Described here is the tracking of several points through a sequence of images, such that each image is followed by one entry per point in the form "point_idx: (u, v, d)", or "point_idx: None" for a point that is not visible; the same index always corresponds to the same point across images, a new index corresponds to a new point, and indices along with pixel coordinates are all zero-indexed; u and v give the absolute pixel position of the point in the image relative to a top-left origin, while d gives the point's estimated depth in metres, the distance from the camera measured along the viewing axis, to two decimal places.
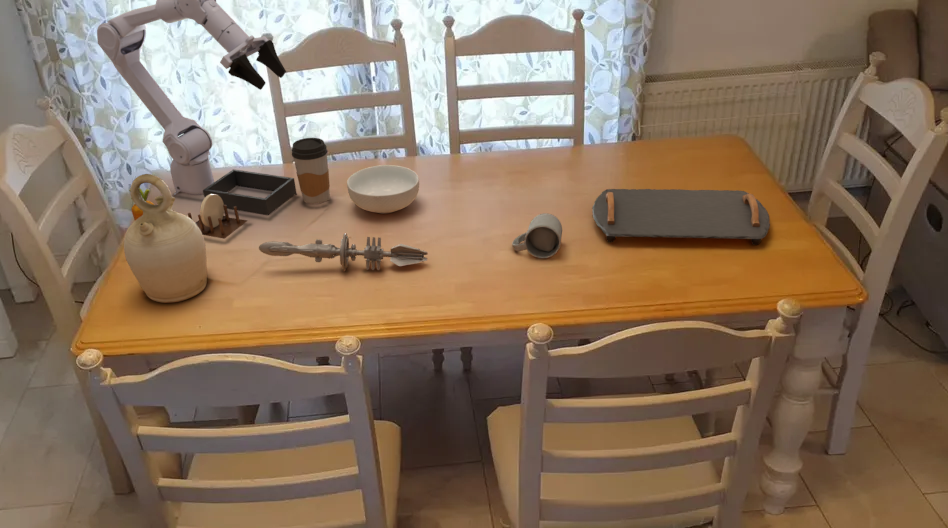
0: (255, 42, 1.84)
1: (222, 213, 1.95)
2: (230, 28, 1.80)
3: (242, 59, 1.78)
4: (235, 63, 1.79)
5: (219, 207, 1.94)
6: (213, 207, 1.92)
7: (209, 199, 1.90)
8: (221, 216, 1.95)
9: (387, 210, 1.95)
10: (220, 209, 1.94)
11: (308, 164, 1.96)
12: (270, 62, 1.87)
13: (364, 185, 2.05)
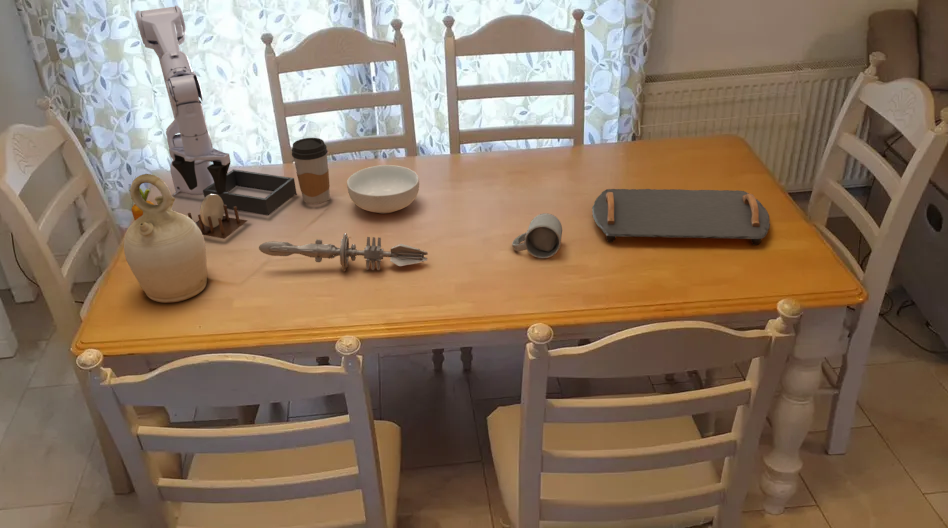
0: None
1: (222, 213, 1.95)
2: (182, 137, 1.80)
3: (175, 166, 1.85)
4: None
5: (219, 207, 1.94)
6: (213, 207, 1.92)
7: (209, 199, 1.90)
8: (221, 216, 1.95)
9: (387, 210, 1.95)
10: (220, 209, 1.94)
11: (308, 164, 1.96)
12: None
13: (364, 185, 2.05)
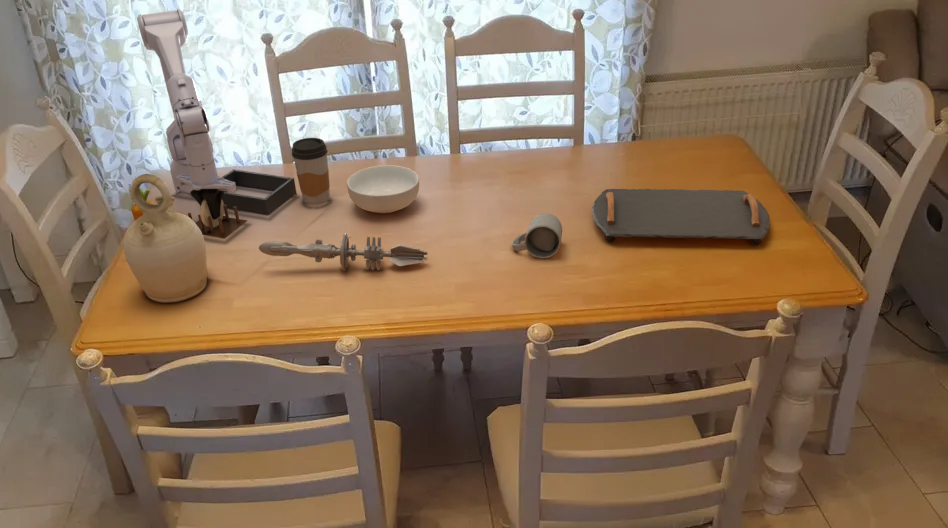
0: None
1: (222, 213, 1.95)
2: (189, 167, 1.84)
3: (193, 195, 1.88)
4: None
5: None
6: None
7: None
8: (221, 216, 1.95)
9: (387, 210, 1.95)
10: (220, 209, 1.94)
11: (308, 164, 1.96)
12: None
13: (364, 185, 2.05)
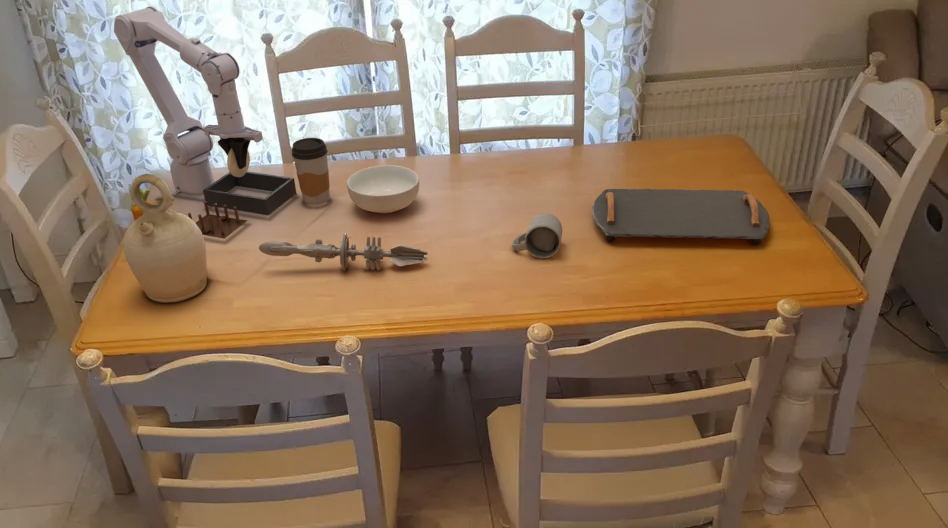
0: None
1: (248, 163, 2.01)
2: (217, 116, 1.90)
3: (220, 145, 1.94)
4: None
5: None
6: None
7: None
8: (247, 166, 2.01)
9: (387, 210, 1.95)
10: (246, 159, 2.00)
11: (308, 164, 1.96)
12: None
13: (364, 185, 2.05)
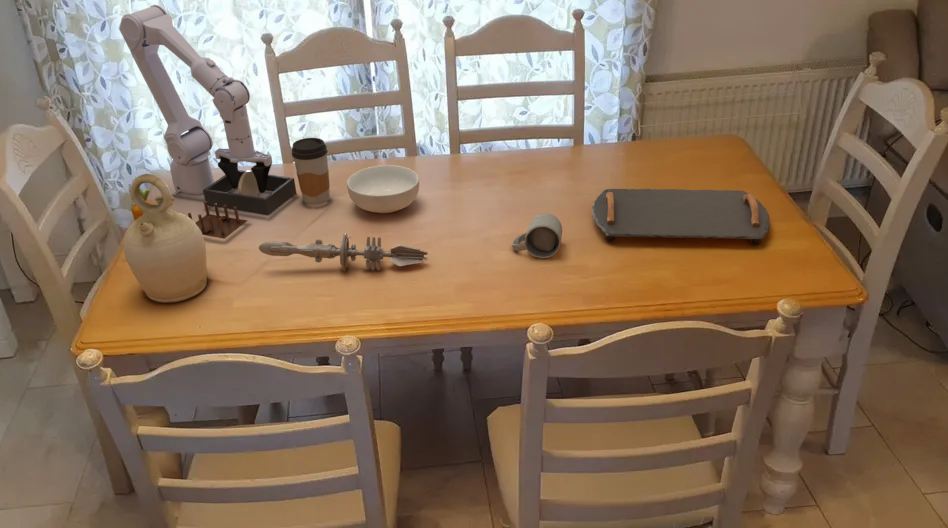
0: None
1: None
2: (228, 140, 1.95)
3: (220, 167, 2.00)
4: None
5: (255, 183, 2.05)
6: (250, 183, 2.03)
7: (246, 175, 2.01)
8: (257, 192, 2.06)
9: (387, 210, 1.95)
10: (256, 185, 2.05)
11: (308, 164, 1.96)
12: None
13: (364, 185, 2.05)
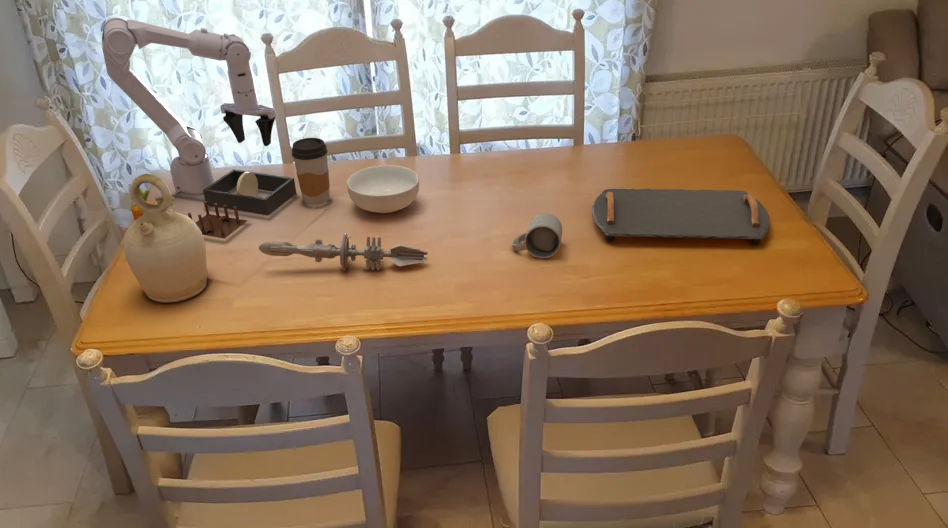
0: None
1: (256, 188, 2.06)
2: None
3: None
4: (272, 118, 2.05)
5: (253, 183, 2.04)
6: (248, 185, 2.02)
7: (243, 178, 2.00)
8: (256, 191, 2.06)
9: (387, 210, 1.95)
10: (254, 185, 2.05)
11: (308, 164, 1.96)
12: (238, 127, 2.09)
13: (364, 185, 2.05)
